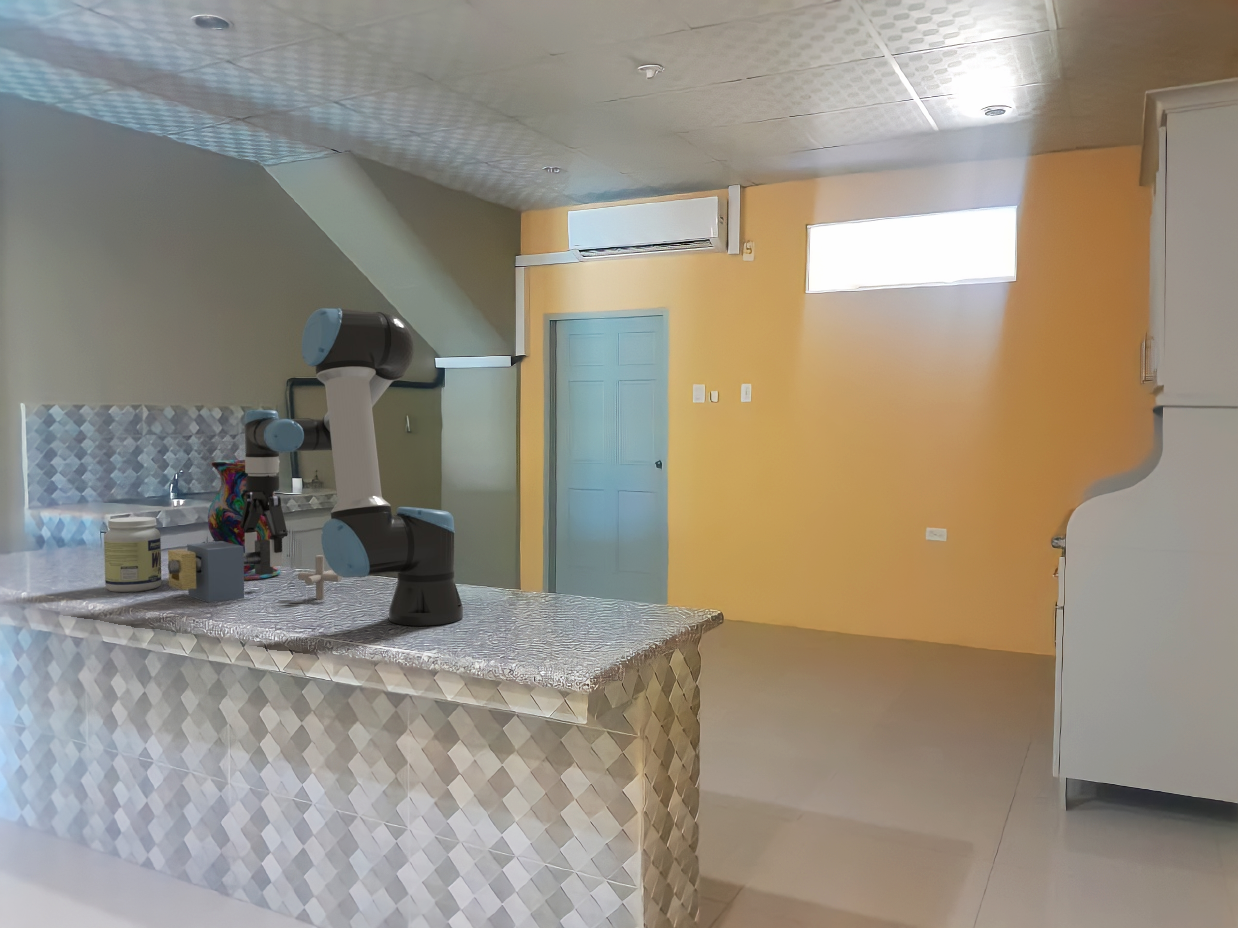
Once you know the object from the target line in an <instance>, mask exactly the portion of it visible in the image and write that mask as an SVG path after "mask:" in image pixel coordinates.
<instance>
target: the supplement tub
mask: <svg viewBox="0 0 1238 928" xmlns="http://www.w3.org/2000/svg"><path fill="white" fill-rule="evenodd" d="M157 525H158V523H157V518H156V517H153V516H152V517H151V516H131V517H129V516H127V517H126V516H125V517H117V518H115V517H114V518H111V519H108V520H107V528H108V529H109V530H108V531H106V532H105V534H104V536H103V542H104V543H103V545H104V546H103V547H104V549H103V550H104V551H103V552H104V555H103V556H104V582H105V583H104V584H105V587H106V589H107V590H108V591H109V592H117V593H132V592H133V593H135V592H143V591H150V590H155V589H157V588H158V587H160V586H161V584H162V547H161V545H162V544H161V543H162V542H161V539H162V538H161V532H160V530H158V529H157V528H156V526H157Z"/></svg>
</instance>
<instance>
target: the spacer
mask: <svg viewBox="0 0 1238 928" xmlns="http://www.w3.org/2000/svg"><path fill="white" fill-rule="evenodd" d="M167 554H168V555H167V560H168V562H169V561H172V560H176V561H179V573H176V574H170V573H169V572H168V586H169V587H173V588H176V589H178V590H181V591H182V590H183V591H186V590H187V591H188V589H195V588H196V553H194V552H191V551H187V549H183V548H180V549H179V548H178V549H170V550H169V549H168V550H167Z"/></svg>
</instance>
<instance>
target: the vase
mask: <svg viewBox="0 0 1238 928" xmlns="http://www.w3.org/2000/svg"><path fill="white" fill-rule="evenodd" d="M210 465H211V466H212V467H213V468H214V469H215V470H216V471H217V473H218V475H219V476H220V487H219V489H218V491H216V492H217V493H216V495H215V496H214V498H213V500H212V501H211V504H210V505H209V507H208V514H207V524H208V530H209V533H210V536H211V538H212V539H213V540H214V542H217V541H224V542H228V543H232V544H236V545H240V546H243V549H244V553H245V532H244V531H243V529H241V528H240V524H241V519H242V514H243V509H244V505H245V494H246V493H252V492H249V491H247V490H246V477H247V476H248V474H247V473H246V472H245V459H228V460H227V459H226V460H215V461H211V462H210ZM273 495H274V496H277V495H276V493H275V491H274V492H273ZM281 507H282V505H281ZM282 508H283V507H282ZM282 512H283V513H284V511H283V509H282ZM256 528H257V530H258V531H255V532H257V540H266V539H267V540H270V539H269V538H270V536H271V534H270V531H269V528H268V525H267V523H266V520H265V517H264V516H262V515H261V516H260V519H259V521H258V524H257V526H256ZM281 573H282V572H281V571H280V569H279V568H277V566H275V567H273V574H266V575H258V574H255V564H254V565H246V566H244V581H245V580H249V581H250V580H257V579H266V578H267V579H268V578H270V577H271V578H272V577H274V576H278V575H280V574H281Z"/></svg>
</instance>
